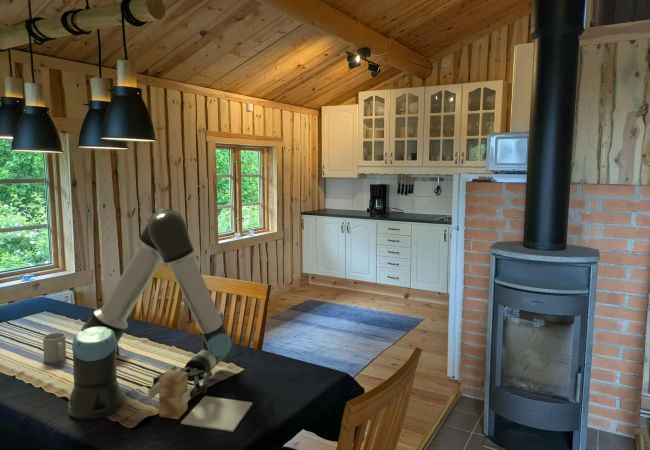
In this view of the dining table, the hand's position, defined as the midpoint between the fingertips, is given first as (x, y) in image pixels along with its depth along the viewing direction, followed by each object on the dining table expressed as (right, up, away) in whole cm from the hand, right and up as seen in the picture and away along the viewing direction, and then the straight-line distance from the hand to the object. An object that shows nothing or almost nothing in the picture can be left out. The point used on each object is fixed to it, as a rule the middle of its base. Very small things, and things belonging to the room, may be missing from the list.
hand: (166, 397), depth 139 cm
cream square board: (+14, -7, +6) cm, 16 cm away
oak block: (+1, -6, +5) cm, 8 cm away
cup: (-53, 0, +37) cm, 65 cm away
